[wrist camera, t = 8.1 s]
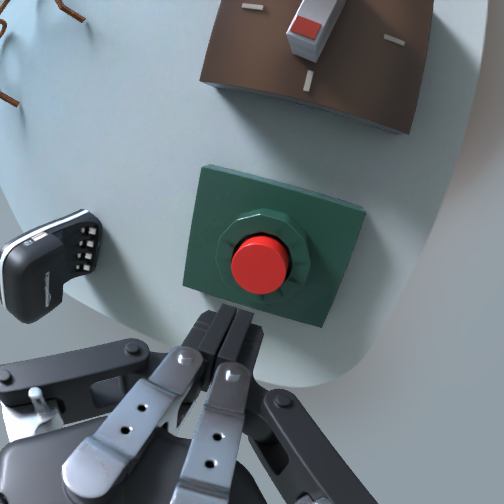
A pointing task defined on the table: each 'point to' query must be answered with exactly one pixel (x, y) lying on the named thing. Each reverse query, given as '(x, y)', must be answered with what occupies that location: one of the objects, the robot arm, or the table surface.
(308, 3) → the tap handle
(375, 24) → the block
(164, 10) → the table surface
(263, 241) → the button
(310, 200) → the button box
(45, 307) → the battery charger
